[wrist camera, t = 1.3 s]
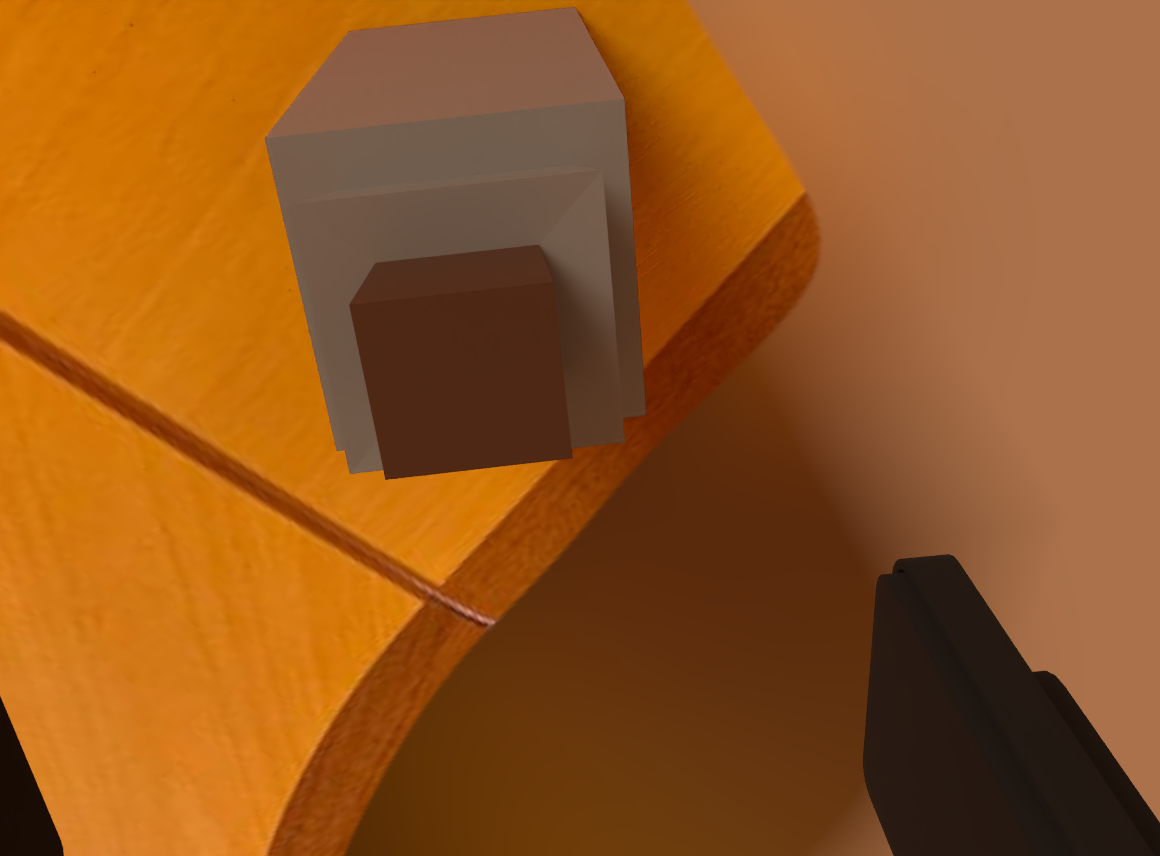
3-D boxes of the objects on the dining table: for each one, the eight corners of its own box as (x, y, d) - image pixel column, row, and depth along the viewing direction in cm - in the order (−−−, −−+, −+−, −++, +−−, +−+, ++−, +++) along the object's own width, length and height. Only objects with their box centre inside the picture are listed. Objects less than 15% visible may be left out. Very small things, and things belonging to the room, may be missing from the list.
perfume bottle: (348, 31, 32) (209, 209, 16) (574, 7, 32) (656, 159, 16) (388, 248, 35) (305, 574, 19) (594, 225, 35) (678, 530, 19)
